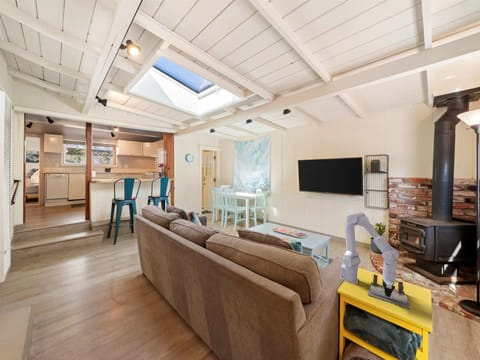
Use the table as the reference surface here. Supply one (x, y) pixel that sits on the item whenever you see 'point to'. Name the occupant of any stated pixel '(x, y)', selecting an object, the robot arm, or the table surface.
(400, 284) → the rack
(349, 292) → the table surface
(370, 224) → the robot arm
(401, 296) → the rail
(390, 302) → the mat
